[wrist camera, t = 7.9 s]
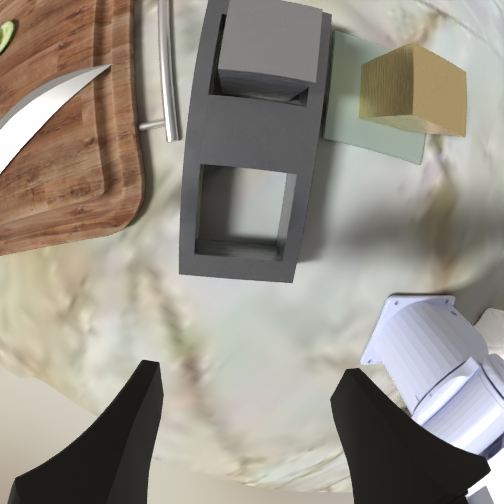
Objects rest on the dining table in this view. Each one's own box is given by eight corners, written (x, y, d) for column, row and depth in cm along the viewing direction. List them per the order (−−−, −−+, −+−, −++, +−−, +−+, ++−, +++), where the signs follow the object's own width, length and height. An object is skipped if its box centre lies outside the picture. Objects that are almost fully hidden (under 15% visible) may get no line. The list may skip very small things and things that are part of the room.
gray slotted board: (319, 28, 13) (331, 14, 10) (285, 265, 19) (292, 282, 17) (212, 12, 12) (209, -5, 10) (184, 257, 18) (178, 274, 16)
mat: (426, 70, 14) (429, 69, 13) (417, 164, 17) (420, 165, 16) (333, 32, 13) (335, 30, 12) (321, 138, 16) (323, 138, 15)
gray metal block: (294, 46, 13) (322, 9, 8) (287, 101, 15) (315, 82, 9) (231, 38, 13) (231, -6, 7) (222, 93, 14) (217, 68, 9)
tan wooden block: (409, 81, 14) (465, 72, 8) (406, 132, 15) (465, 137, 10) (361, 64, 13) (412, 42, 8) (358, 118, 15) (412, 115, 10)
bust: (458, 353, 30) (510, 374, 22) (445, 386, 26) (505, 410, 18) (484, 287, 25) (545, 309, 17) (480, 316, 21) (550, 342, 13)
